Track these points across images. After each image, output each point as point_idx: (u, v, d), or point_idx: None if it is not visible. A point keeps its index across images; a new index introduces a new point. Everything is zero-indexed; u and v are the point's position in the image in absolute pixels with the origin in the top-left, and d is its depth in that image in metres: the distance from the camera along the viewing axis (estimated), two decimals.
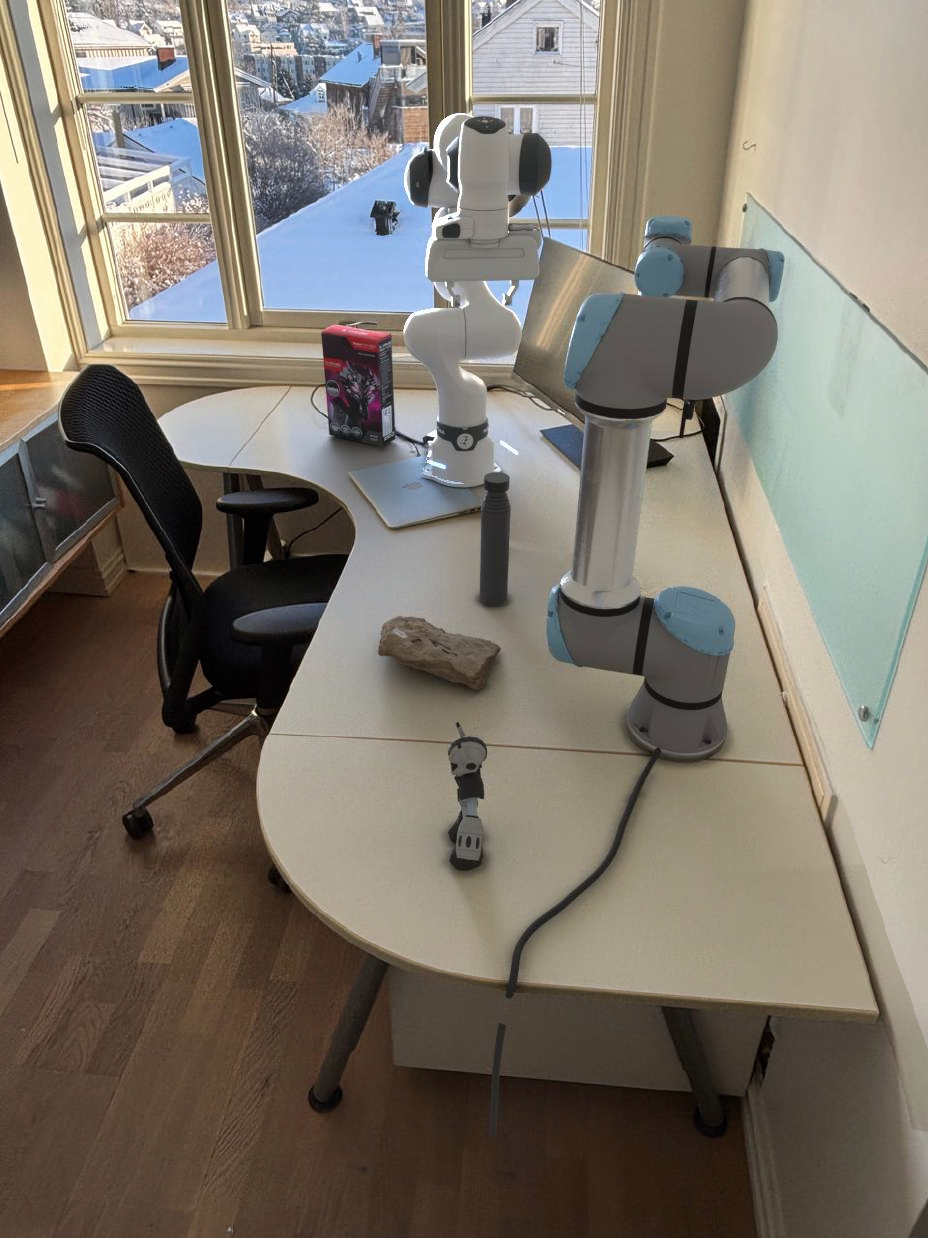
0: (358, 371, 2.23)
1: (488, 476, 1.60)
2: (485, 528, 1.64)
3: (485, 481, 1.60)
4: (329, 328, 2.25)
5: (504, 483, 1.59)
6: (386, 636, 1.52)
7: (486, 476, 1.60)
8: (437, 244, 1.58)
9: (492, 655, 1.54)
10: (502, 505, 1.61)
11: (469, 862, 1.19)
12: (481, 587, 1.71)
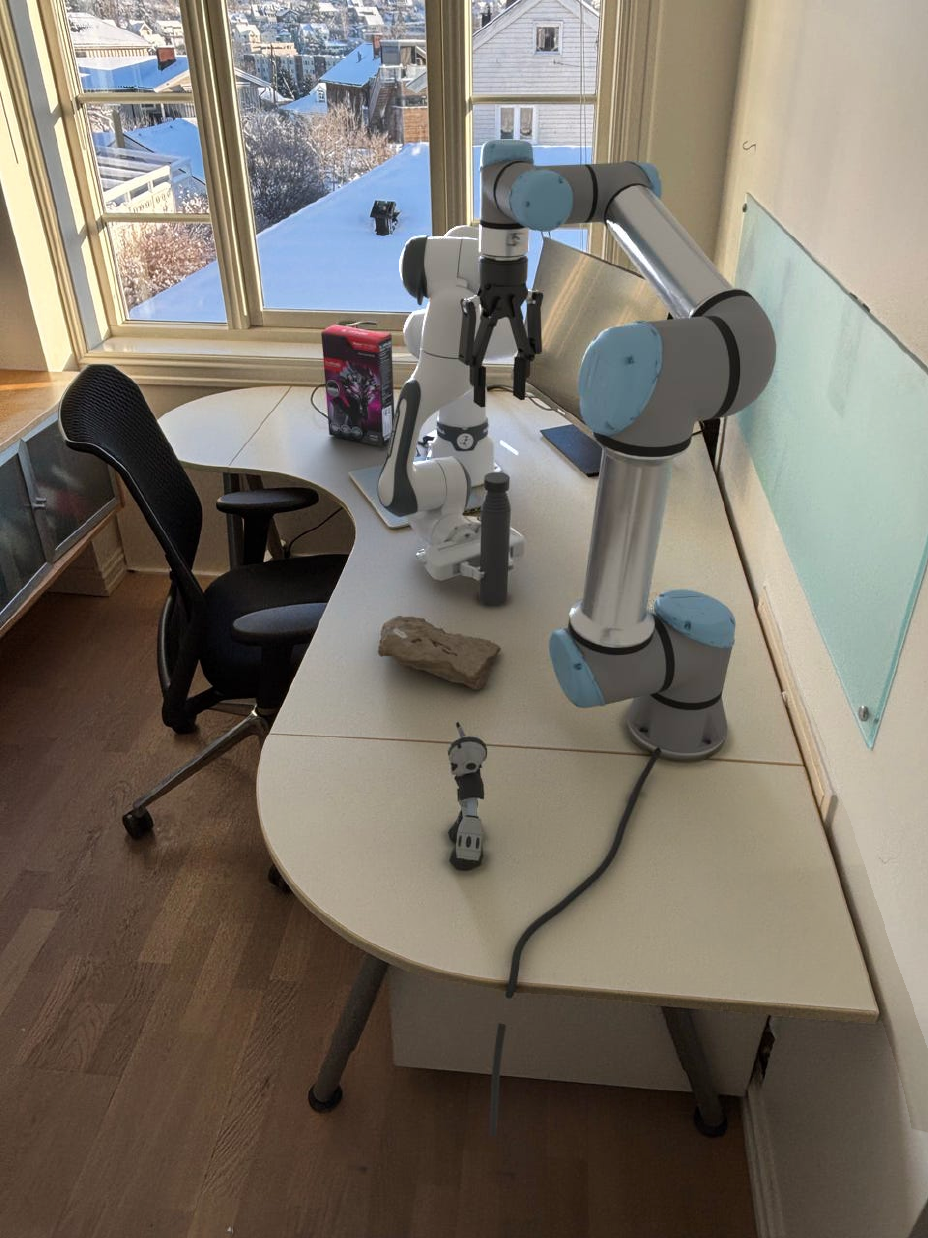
0: (358, 371, 2.23)
1: (488, 476, 1.60)
2: (485, 528, 1.64)
3: (485, 481, 1.60)
4: (329, 328, 2.25)
5: (504, 483, 1.59)
6: (386, 636, 1.52)
7: (486, 476, 1.60)
8: None
9: (492, 655, 1.54)
10: (502, 505, 1.61)
11: (469, 862, 1.19)
12: (481, 587, 1.71)
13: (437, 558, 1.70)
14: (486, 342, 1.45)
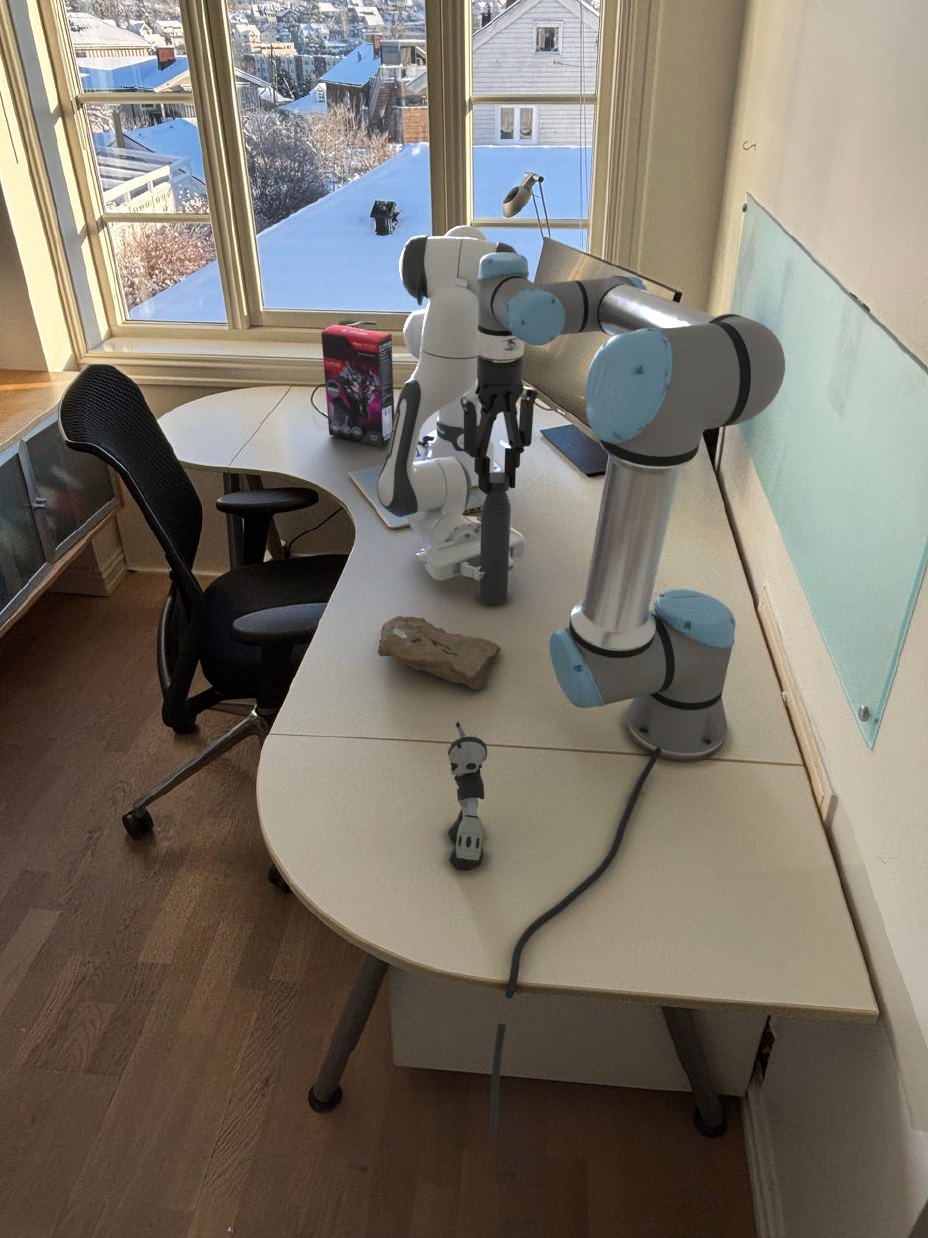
0: (358, 371, 2.23)
1: None
2: (485, 528, 1.64)
3: None
4: (329, 328, 2.25)
5: (504, 483, 1.59)
6: (386, 636, 1.52)
7: None
8: None
9: (492, 655, 1.54)
10: (502, 505, 1.61)
11: (469, 862, 1.19)
12: (481, 587, 1.71)
13: (437, 558, 1.70)
14: (488, 435, 1.54)
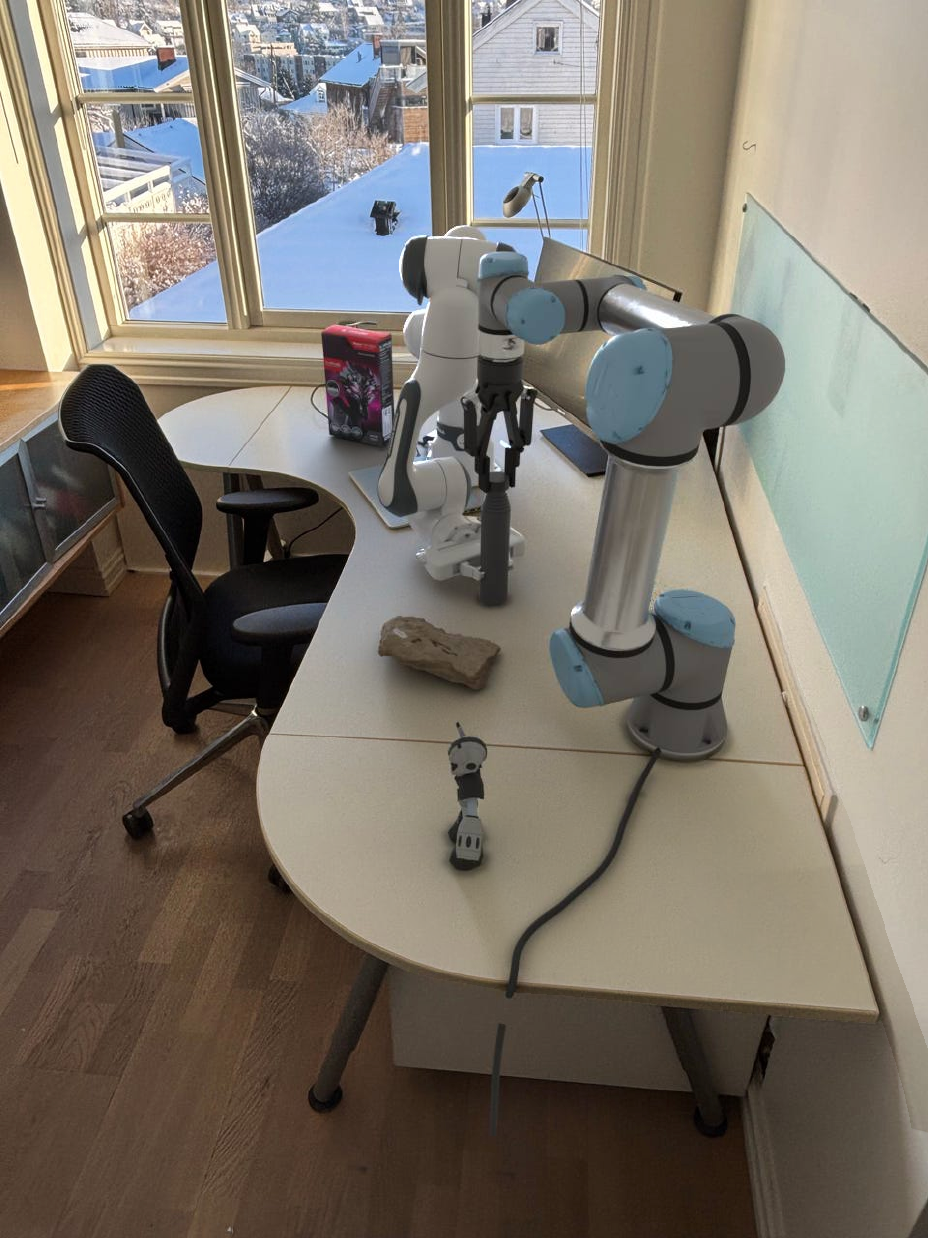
0: (358, 371, 2.23)
1: (500, 480, 1.59)
2: (485, 528, 1.64)
3: (508, 481, 1.59)
4: (329, 328, 2.25)
5: None
6: (386, 636, 1.52)
7: (501, 481, 1.59)
8: None
9: (492, 655, 1.54)
10: (502, 505, 1.61)
11: (469, 862, 1.19)
12: (481, 587, 1.71)
13: (437, 559, 1.70)
14: (488, 435, 1.53)
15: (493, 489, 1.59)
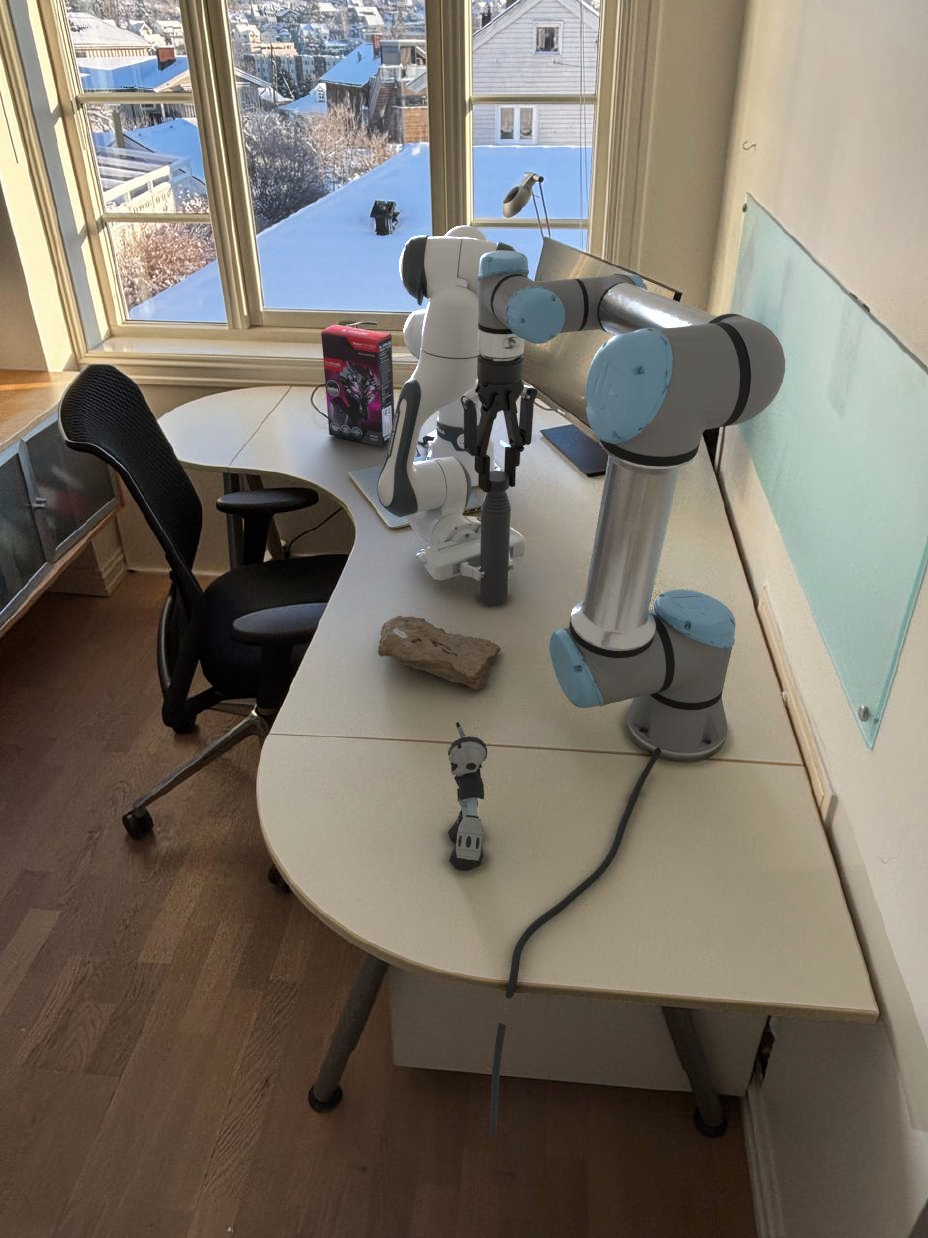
0: (358, 371, 2.23)
1: (502, 473, 1.61)
2: (485, 528, 1.64)
3: None
4: (329, 328, 2.25)
5: None
6: (386, 636, 1.52)
7: (502, 472, 1.61)
8: None
9: (492, 655, 1.54)
10: (502, 505, 1.61)
11: (469, 862, 1.19)
12: (481, 587, 1.71)
13: (437, 559, 1.70)
14: (488, 434, 1.53)
15: None
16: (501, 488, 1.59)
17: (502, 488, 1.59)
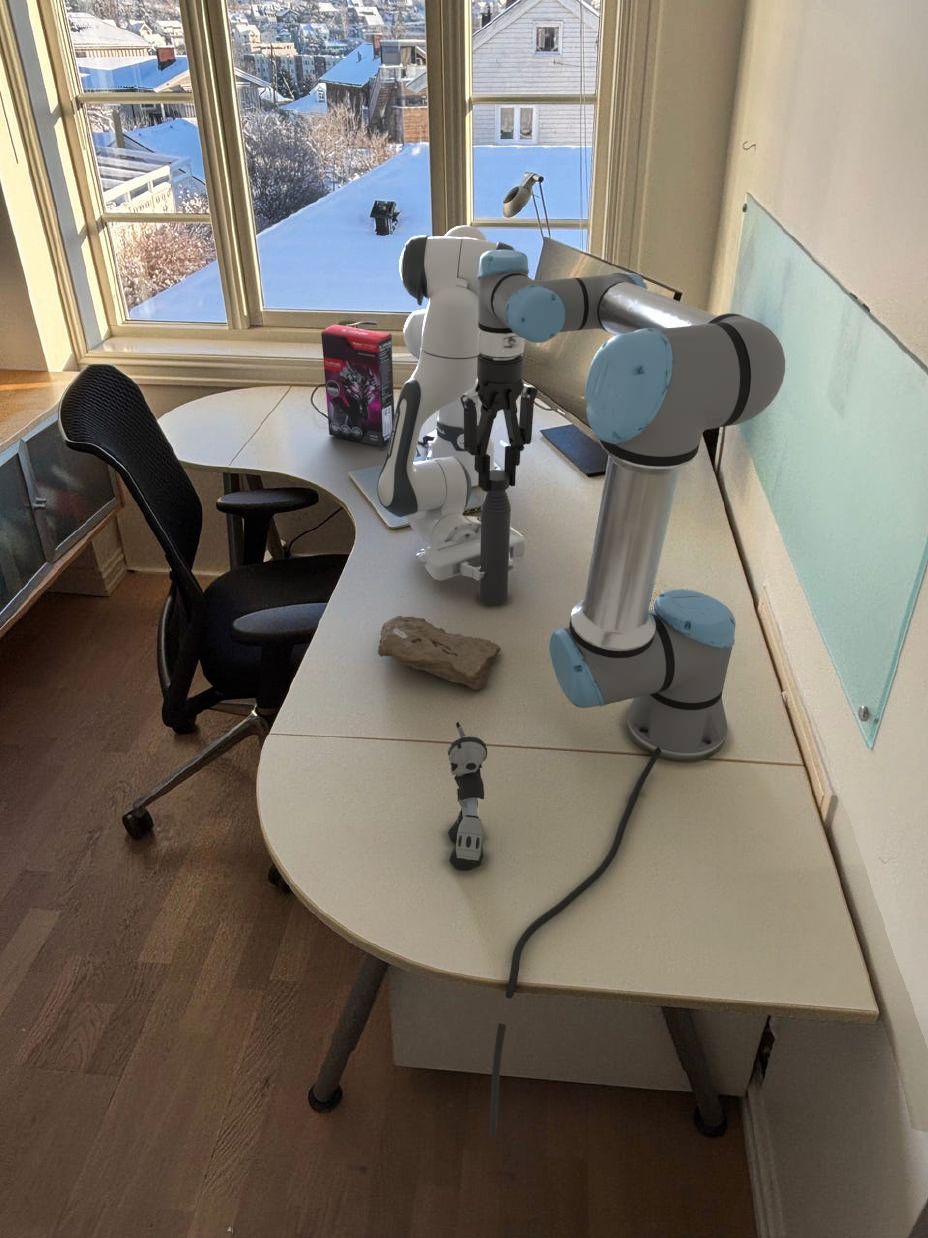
0: (358, 371, 2.23)
1: None
2: (485, 528, 1.64)
3: None
4: (329, 328, 2.25)
5: (506, 480, 1.59)
6: (386, 636, 1.52)
7: None
8: None
9: (492, 655, 1.54)
10: (502, 505, 1.61)
11: (469, 862, 1.19)
12: (481, 587, 1.71)
13: (437, 559, 1.70)
14: (488, 433, 1.53)
15: None
16: None
17: None
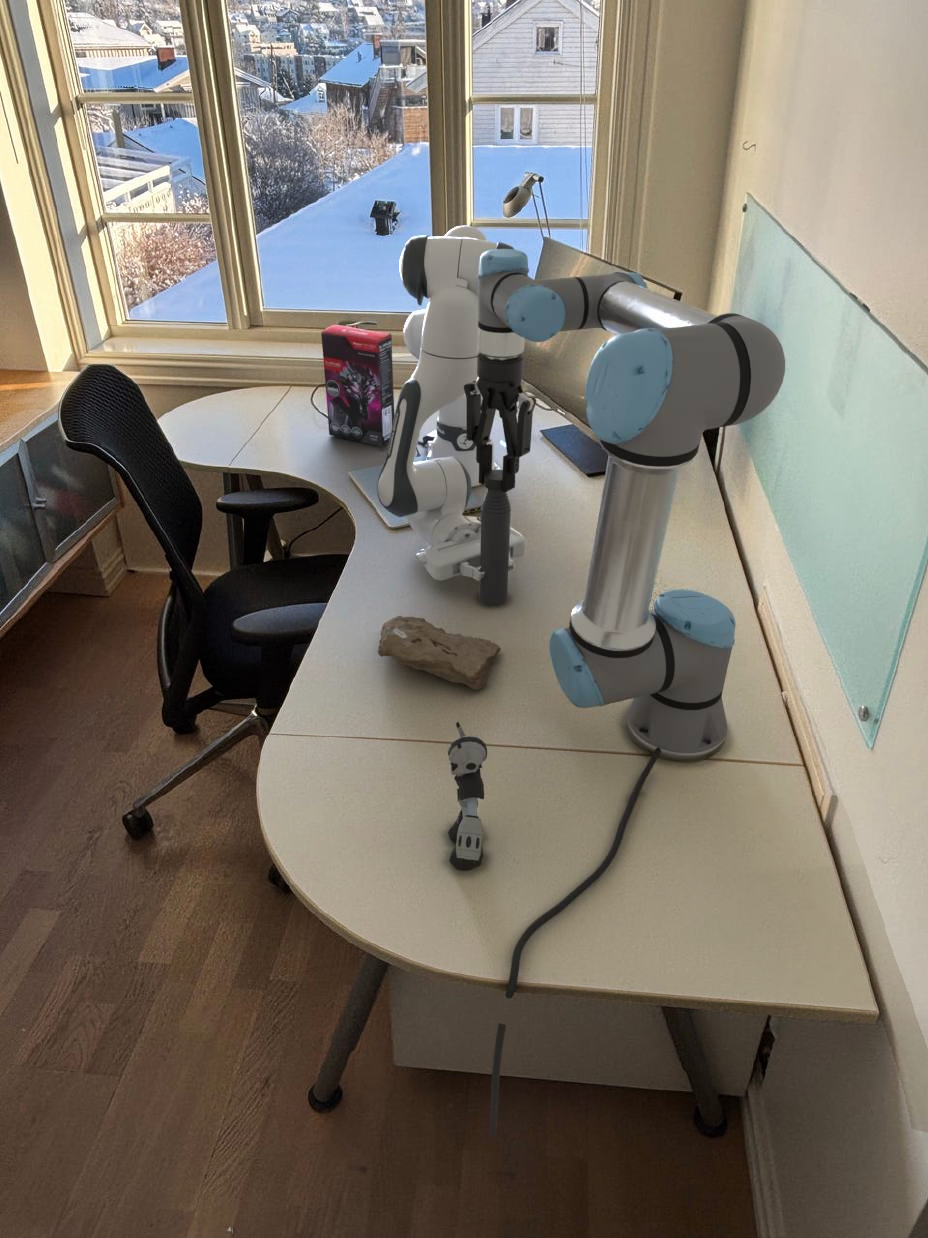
0: (358, 371, 2.23)
1: (500, 478, 1.59)
2: (485, 528, 1.64)
3: None
4: (329, 328, 2.25)
5: None
6: (386, 636, 1.52)
7: (501, 479, 1.58)
8: None
9: (492, 655, 1.54)
10: (502, 505, 1.61)
11: (469, 862, 1.19)
12: (481, 587, 1.71)
13: (437, 559, 1.70)
14: None
15: (493, 487, 1.59)
16: None
17: None
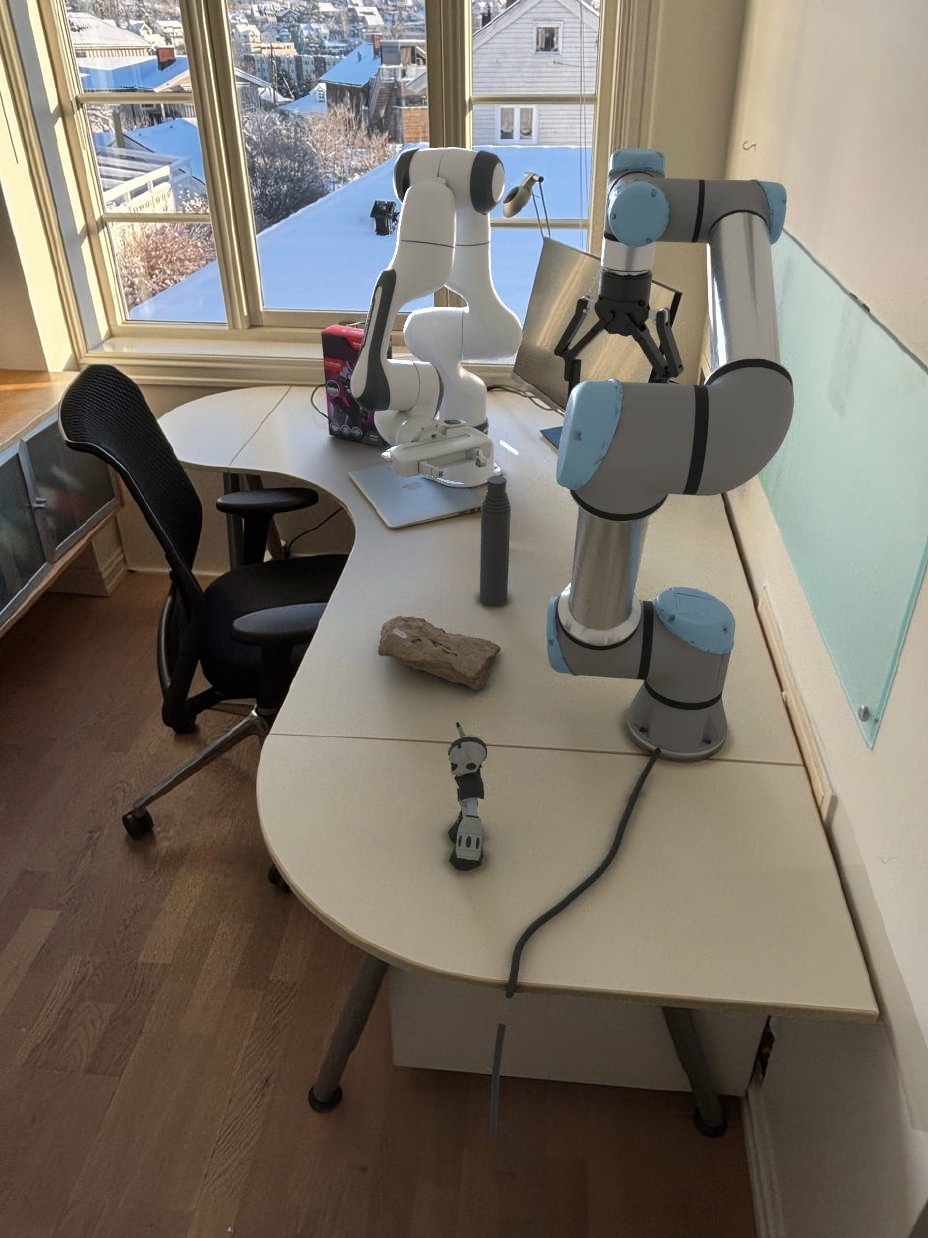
0: None
1: None
2: (485, 528, 1.64)
3: None
4: (329, 328, 2.25)
5: None
6: (386, 636, 1.52)
7: None
8: None
9: (492, 655, 1.54)
10: (502, 505, 1.61)
11: (469, 862, 1.19)
12: (481, 587, 1.71)
13: (402, 455, 1.70)
14: None
15: None
16: None
17: None
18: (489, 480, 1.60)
